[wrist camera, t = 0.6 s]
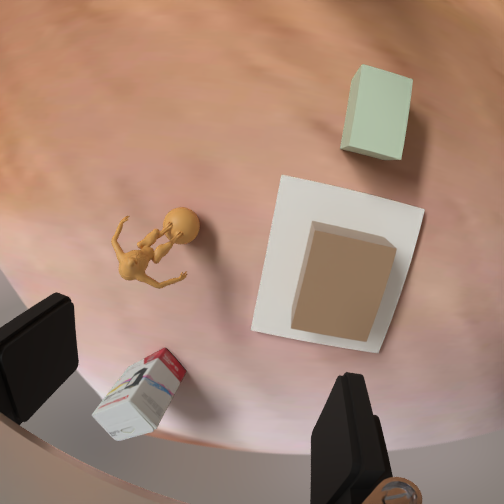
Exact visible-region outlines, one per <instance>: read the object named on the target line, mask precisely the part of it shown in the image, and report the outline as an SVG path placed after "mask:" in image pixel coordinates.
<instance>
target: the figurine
mask: <svg viewBox="0 0 504 504" xmlns="http://www.w3.org/2000/svg"><path fill="white" fill-rule="evenodd" d="M128 217H129V216H126V217H125V218H123V219H122V220H121V221H120V223H119V225H118V227H117V230H116V232H115V235H114V236H113V238H112V240H111V242H112V246H113V248H114V250H115V252H116V255H117V259H118V261H119V273H120V275H121V277H122V278H124V279H125V280H138V281H141V282H145V283H147V284H149V285H151V286H153V287H155V288H159V289H160V288H163V287H165V286H167V285H170V284H174V283H176V282H178V281H181V280H183V279H185V278H186V275H187V274H186V272H187V271H186V272H185V273H184V274H183V275H182V273H183V272H182V273H181V274H180V277H179V278H173V279H169V280H167V281H163V282H161V283H158V282H157V281H156V280H154V279H152V278H151V277H149V276H147V275H146V274H145V270H146V268H147V266H148V263H149V261H150V260H152V261H153V262H154V263H155V264H157V263H159V261H160V260H161V258H162V257H164V256H165V255H166V254H167V253H168V252H169V250H170V249H171V248H172V246H173V244H174V243H176V244H187V243H189V242H191V241H192V240H194V239H195V238H196V236H197V234H198V232H199V228H200V223H199V219H198V217H197V215H196V214H195V213H194V212H193V211H192V210H190V209H188V208H184V207H179V208H175V209H173V210H171V211H170V212H169V213H168V214H167V215H166V217H165V219H164V222H163V229H162V230H161V231H159V230H158V229H154V230H153V231H152V232H150V233H149V234H148V235H147V236H146V237H145V238H144V239H143V240H141V241H140V242H138V243H137V246H138V248H140V249H141V250H132V251H130V252H128V253H124V252H123V251H122V249H121V247H120V245H119V244H118V242H117V239H118V237H119V234H120V232H121V230H122V226H123V223H124V222H125V221H127V220H128V219H127V218H128ZM126 219H127V220H126ZM164 234H165V235H166V237H167V238H168V239H169V240H170V241H169V242H167V243H165V244H161V245H159V246H158V247H157V248H156V249H155V251H153V248H151V247H150V246H151V245H153V244H154V243H155V242H156V239H158V238H160V237H161V236H163V235H164ZM185 274H186V275H185Z"/></svg>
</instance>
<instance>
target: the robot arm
mask: <svg viewBox="0 0 504 504" xmlns="http://www.w3.org/2000/svg"><path fill="white" fill-rule="evenodd" d="M78 363H79V360H78V351H77V341H76V330H75V315H74V305H73V303H72V302H71V299H70V298H69V297H68V296H65V295H62V294H60V293H54V294H52V295H50V296H49V297H47V298H45V299H44V300H42V301H41V302H39V303H38V304H36V305H34V306H33V307H31V308H30V309H28V310H27V311H25V312H24V313H22V314H20V315H19V316H17V317H16V318H14V319H13V320H11V321H10V322H9V323H7V324H5V325H4V326H2V327H1V328H0V504H188V503H185V502H182V501H179V500H175V499H172V498H169V497H166V496H163V495H160V494H157V493H154V492H151V491H149V490H146V489H144V488H141V487H138V486H136V485H133V484H131V483H128V482H126V481H123V480H121V479H118V478H116V477H114V476H111V475H109V474H107V473H105V472H102V471H100V470H98V469H96V468H94V467H92V466H90V465H88V464H86V463H84V462H82V461H80V460H78V459H76V458H74V457H72V456H70V455H68V454H66V453H64V452H62V451H61V450H59V449H57V448H55V447H54V446H52V445H50V444H48V443H47V442H45V441H43V440H42V439H40V438H38V437H37V436H35V435H33V434H32V433H30V432H29V431H27V430H26V429H24V428H22V427H21V426H19V425H20V424H21V423H22V422H26V421H27V420H29V418H30V417H31V416H32V415H33V414H34V413H35V412H36V411H37V410H38V409H39V408H40V407H41V406H42V404H43V403H45V401H46V400H47V399H48V398H49V397H50V396H51V395H52V394H53V393H54V392H55V391H56V390H57V389H58V388H59V387H60V386H61V384H63V382H65V381H66V380H67V378H68V377H69V376H70V375H71V374H72V373H73V372H74V371H75V370H76V369H77V367H78ZM310 502H311V503H310V504H422V495H421V492H420V490H419V488H418V487H417V486H416V485H415V484H414V483H413V482H411V481H409V480H407V479H405V478H400V477H393V476H392V472H391V467H390V462H389V457H388V453H387V448H386V444H385V440H384V436H383V431H382V427H381V423H380V420H379V417H378V416H377V415H373V412H372V408H371V404H370V400H369V396H368V392H367V388H366V384H365V380H364V377H363V375H361V374H355V373H349V372H346V373H345V374H344V375H343V376H340V375H339V376H338V377H337V379H336V382H335V384H334V386H333V388H332V391H331V393H330V395H329V397H328V400H327V402H326V404H325V406H324V408H323V410H322V413H321V415H320V417H319V419H318V421H317V423H316V425H315V427H314V429H313V432H312V436H311V500H310Z"/></svg>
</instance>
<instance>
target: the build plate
mask: <svg viewBox="0 0 504 504" xmlns="http://www.w3.org/2000/svg"><path fill="white" fill-rule="evenodd" d="M424 211H425V209H422V208H419V207H416V206H412V205H408V204H405V203H401V202H398V201H394V200H390V199H386V198H382V197H379V196H375V195H371V194H367V193H363V192H359V191H355V190H350V189H346V188H342V187H338V186H333V185H329V184H325V183H320V182H315V181H311V180H306V179H301V178H297V177H292V176H287V175H281V180H280V185H279V190H278V195H277V201H276V206H275V211H274V216H273V221H272V226H271V232H270V237H269V242H268V247H267V252H266V257H265V262H264V267H263V272H262V277H261V282H260V287H259V292H258V297H257V302H256V307H255V311H254V316H253V321H252V326H251V330H252V331H257V332H262V333H267V334H271V335H276V336H281V337H286V338H291V339H296V340H302V341H307V342H312V343H318V344H323V345H329V346H335V347H341V348H347V349H353V350H359V351H366V352H373V353H379V350H380V348H381V345H382V343H383V340H384V338H385V335H386V333H387V330H388V327H389V325H390V322H391V319H392V317H393V314H394V311H395V308H396V306H397V303H398V300H399V297H400V294H401V291H402V288H403V285H404V282H405V279H406V276H407V272H408V269H409V266H410V263H411V259H412V256H413V252H414V249H415V245H416V242H417V238H418V234H419V231H420V227H421V223H422V219H423V215H424Z"/></svg>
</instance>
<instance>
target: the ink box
mask: <svg viewBox="0 0 504 504" xmlns="http://www.w3.org/2000/svg"><path fill="white" fill-rule="evenodd" d="M185 373H186V370H185V369H184V368H183V367H182V365H181V364H180V363H179V362H178V361H177V360H176V358H175V357H174V356H173V355H172V354H171V353H170V352H169V351H168V350H167V349H166V348H163V349H161V350H159V351H157V352H155V353H154V354H152V355H150V356H148V357H146V358H144V359H142V360H141V361H139V362H137V363H135V364H133V365H131V366H129V367H128V368H127V369H126V371H125V372H124V373H123V375H122V376H121V377H120V378H119V380H118V381H117V382H116V384H115V385H114V386H113V387H112V389H111V390H110V391H109V393H108V394H107V395H106V397H105V398H104V399H103V401H102V402H101V403H100V405H99V406H98V407H97V409H96V410H95V411H94V412H93V414H92V417H93V418H94V419H95V420H96V421H97V422H98V423H99V424H100V425H101V426H102V427H103V428H104V429H105V430H106V431H107V432H108V433H109V435H111V437H113V438H114V439H115V440H117V441H120V440H124V439H127V438H131V437H136V436H138V435H143V434H146V433H150V432H153V431H154V429H157V427H158V425H159V423H160V421H161V419H162V417H163V415H164V413H165V411H166V409H167V407H168V406H169V404H170V402H171V400H172V398H173V396H174V394H175V392H176V391H177V389H178V387H179V385H180V383H181V381H182V379H183V377H184V375H185Z"/></svg>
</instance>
